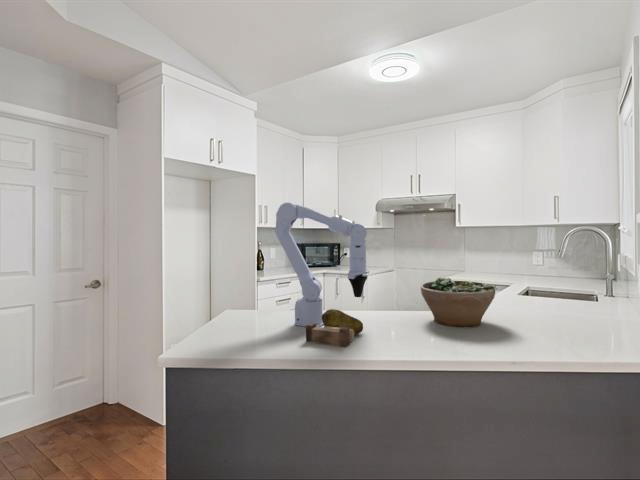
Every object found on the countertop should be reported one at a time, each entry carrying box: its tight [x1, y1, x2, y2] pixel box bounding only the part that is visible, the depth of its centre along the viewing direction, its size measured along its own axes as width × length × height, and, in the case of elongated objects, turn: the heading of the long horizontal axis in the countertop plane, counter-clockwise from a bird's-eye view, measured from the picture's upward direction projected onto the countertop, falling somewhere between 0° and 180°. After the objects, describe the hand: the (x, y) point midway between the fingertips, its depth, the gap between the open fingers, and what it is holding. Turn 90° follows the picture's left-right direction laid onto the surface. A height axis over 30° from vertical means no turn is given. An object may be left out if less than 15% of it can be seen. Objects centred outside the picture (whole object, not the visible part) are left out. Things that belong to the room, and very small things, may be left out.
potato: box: [322, 308, 364, 336], centre depth 120 cm, size 8×13×8 cm, turn 70°
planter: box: [420, 277, 499, 329], centre depth 134 cm, size 26×25×15 cm
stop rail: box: [305, 323, 350, 348], centre depth 111 cm, size 13×3×5 cm, turn 65°
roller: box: [323, 325, 355, 344], centre depth 114 cm, size 9×4×4 cm
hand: (357, 296), depth 131 cm, fingers closed
